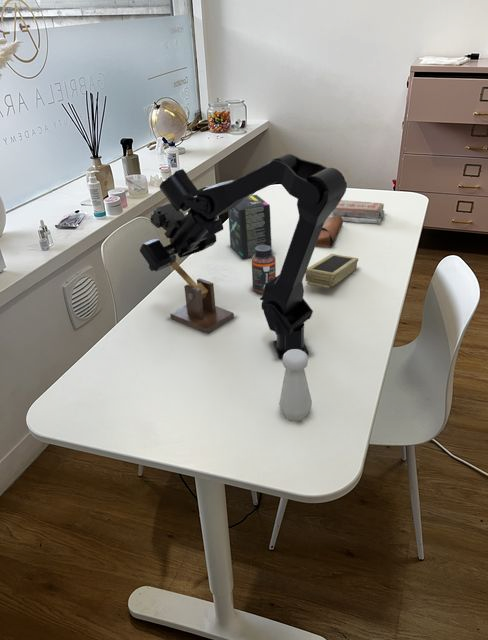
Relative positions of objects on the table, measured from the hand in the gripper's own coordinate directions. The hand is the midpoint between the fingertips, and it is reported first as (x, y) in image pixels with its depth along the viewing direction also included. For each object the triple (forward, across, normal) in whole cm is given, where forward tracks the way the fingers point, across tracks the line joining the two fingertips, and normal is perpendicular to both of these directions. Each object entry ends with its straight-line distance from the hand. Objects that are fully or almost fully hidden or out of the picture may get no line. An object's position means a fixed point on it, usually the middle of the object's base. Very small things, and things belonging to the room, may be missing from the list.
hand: (165, 262), depth 131 cm
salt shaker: (-26, +15, +43) cm, 53 cm away
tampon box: (+13, -38, +4) cm, 40 cm away
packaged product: (+5, -78, +11) cm, 79 cm away
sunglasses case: (+4, -59, +12) cm, 61 cm away
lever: (-1, 0, +6) cm, 6 cm away
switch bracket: (0, 0, +16) cm, 16 cm away
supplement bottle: (-1, -20, +18) cm, 27 cm away
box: (-9, -36, +25) cm, 45 cm away
